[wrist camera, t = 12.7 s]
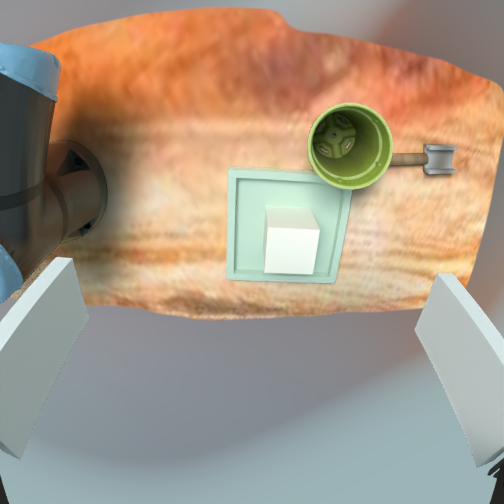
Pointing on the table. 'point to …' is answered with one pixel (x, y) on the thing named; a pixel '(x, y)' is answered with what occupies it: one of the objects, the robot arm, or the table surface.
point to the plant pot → (350, 146)
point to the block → (289, 240)
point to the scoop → (429, 158)
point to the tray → (285, 195)
